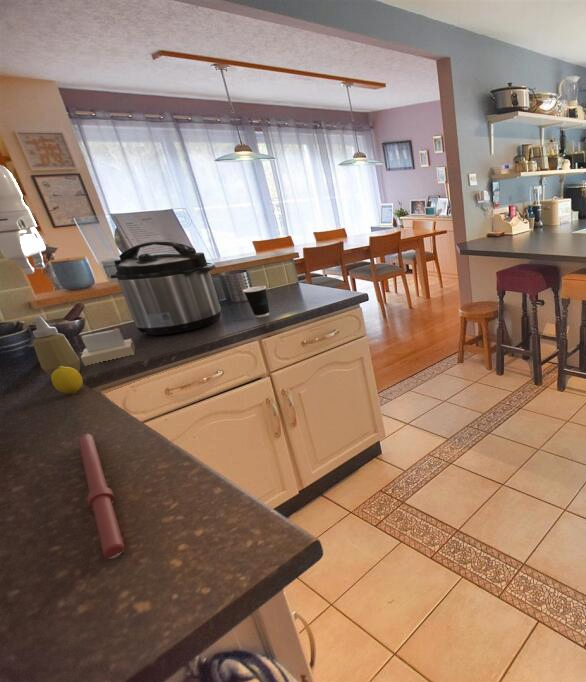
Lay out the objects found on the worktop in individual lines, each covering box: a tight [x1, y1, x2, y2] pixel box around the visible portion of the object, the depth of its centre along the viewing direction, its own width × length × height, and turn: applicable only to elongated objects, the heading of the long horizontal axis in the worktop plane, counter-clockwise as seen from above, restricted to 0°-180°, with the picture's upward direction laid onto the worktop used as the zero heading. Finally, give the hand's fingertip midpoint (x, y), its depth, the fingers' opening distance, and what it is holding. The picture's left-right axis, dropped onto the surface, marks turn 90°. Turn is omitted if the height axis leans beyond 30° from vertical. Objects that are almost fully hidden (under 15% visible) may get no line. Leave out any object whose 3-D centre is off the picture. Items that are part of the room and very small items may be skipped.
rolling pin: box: [77, 433, 126, 560], centre depth 76 cm, size 45×3×3 cm, turn 47°
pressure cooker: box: [110, 241, 222, 336], centre depth 162 cm, size 30×28×32 cm
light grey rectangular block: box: [81, 327, 125, 352], centre depth 139 cm, size 9×2×5 cm, turn 123°
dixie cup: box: [242, 285, 270, 319], centre depth 170 cm, size 8×8×11 cm
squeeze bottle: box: [32, 316, 81, 377], centre depth 125 cm, size 8×8×18 cm
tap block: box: [79, 338, 136, 367], centre depth 140 cm, size 13×13×3 cm
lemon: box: [50, 366, 84, 395], centre depth 114 cm, size 6×6×8 cm
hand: (36, 271), depth 128 cm, fingers open, 8 cm apart
